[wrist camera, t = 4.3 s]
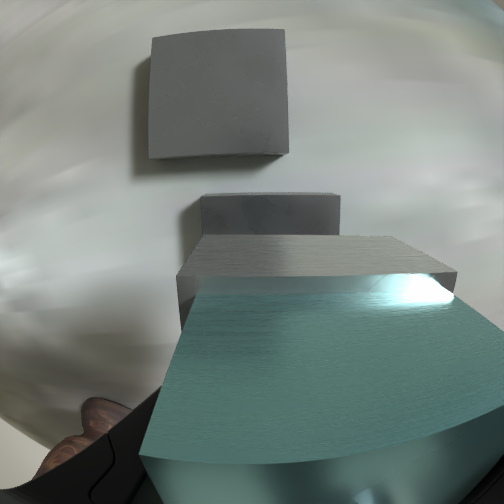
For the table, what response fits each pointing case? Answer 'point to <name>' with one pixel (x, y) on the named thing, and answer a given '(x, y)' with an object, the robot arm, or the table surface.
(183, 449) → the housing
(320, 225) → the stand
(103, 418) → the mortar and pestle
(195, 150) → the stand
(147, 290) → the table surface
